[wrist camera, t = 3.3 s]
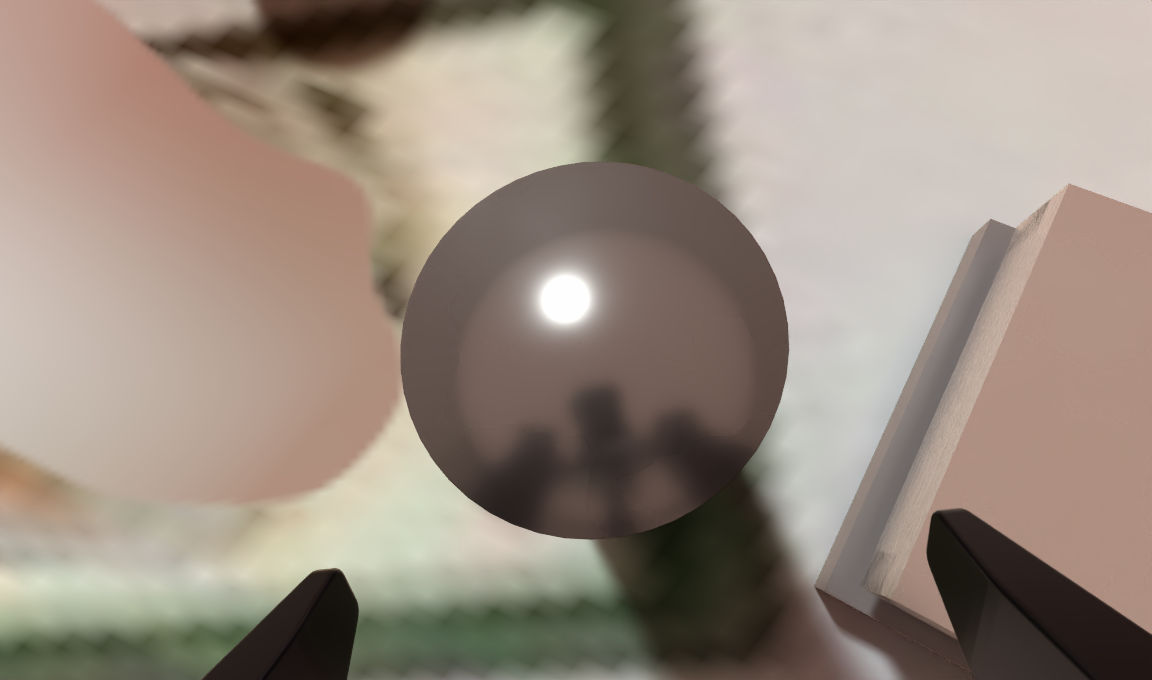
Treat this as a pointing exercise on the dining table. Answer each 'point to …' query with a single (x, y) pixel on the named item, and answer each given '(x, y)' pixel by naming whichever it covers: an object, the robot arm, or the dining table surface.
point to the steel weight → (594, 350)
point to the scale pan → (1046, 415)
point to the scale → (913, 445)
